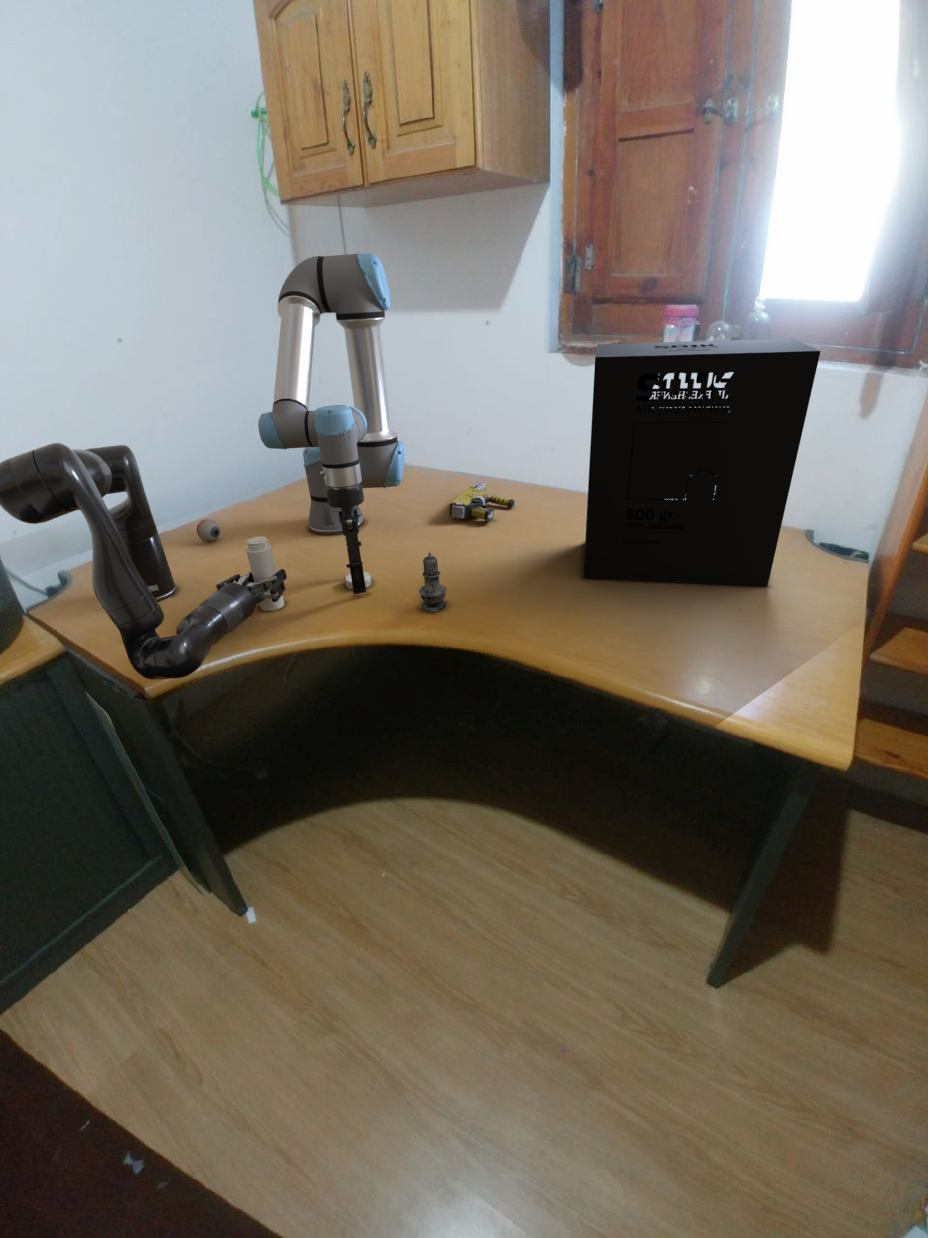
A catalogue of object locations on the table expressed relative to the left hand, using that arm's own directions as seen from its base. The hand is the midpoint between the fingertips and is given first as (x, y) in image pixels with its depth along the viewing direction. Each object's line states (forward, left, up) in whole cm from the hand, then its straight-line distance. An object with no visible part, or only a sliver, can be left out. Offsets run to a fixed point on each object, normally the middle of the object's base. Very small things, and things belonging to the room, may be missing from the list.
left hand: (272, 572), depth 128 cm
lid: (+15, +10, -5) cm, 18 cm away
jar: (0, -3, -7) cm, 7 cm away
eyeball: (-37, +27, -7) cm, 46 cm away
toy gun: (+32, +61, -7) cm, 69 cm away
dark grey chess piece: (+35, +3, -7) cm, 35 cm away
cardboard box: (+82, +32, -7) cm, 88 cm away
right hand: (+15, +9, -6) cm, 19 cm away
